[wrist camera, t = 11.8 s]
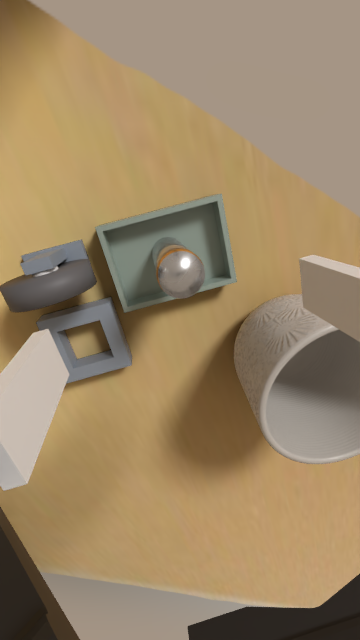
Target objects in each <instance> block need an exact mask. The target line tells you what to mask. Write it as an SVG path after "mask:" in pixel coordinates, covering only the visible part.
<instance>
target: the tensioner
mask: <svg viewBox="0 0 360 640" xmlns="http://www.w3.org/2000/svg"><path fill="white" fill-rule="evenodd" d="M21 257H22V259H23V261H24V262H23V263H21V266H22V269H23V271H24V273H25V275H22V276H20V277H17V278H15V279H12V280H10V281H8V282H6V283H4V284H2V285H1V286H0V291H1V293H2V295H3V297H4V299H5V301H6V303H7V305H8V307H9V309H10V311H11V312H25V311H31V310H35V309H39V308H43V307H47V306H50V305H53V304H56V303H59V302H62V301H64V300H67V299H70V298H72V297H74V296H77V295H79V294H81V293H83V292H85V291H87V290H88V289H90V288H91V287H93V286H94V285H95V284H96V283H97V281H96V278H95V275H94V273H93V270H92V267H91V263H90V261H89V258H88V255H87V252H86V250H85V247H84V244H83V241H82V240H78V241H74V242H70V243H67V244H63V245H59V246H55V247H52V248H48V249H44V250H40V251H37V252H33V253H29V254H25V255H22V256H21ZM98 320H100V322H101V325H102V327H103V330H104V332H105V335H106V338H107V340H108V343H109V346H110V348H111V350H109V351H105V352H102V353H98V354H94V355H91V356H87V357H84V358H80V359H77V358H76V356H75V354H74V351H73V349H72V347H71V344H70V342H69V340H68V338H67V335H66V333H65V331H64V330H65V329H69V328H73V327H76V326H80V325H84V324H87V323H91V322H94V321H98ZM36 324H37V326H38V328H39V330H40V331H42V330H45V329H49V331H50V334H51V336H52V338H53V340H54V342H55V344H56V347H57V349H58V351H59V353H60V355H61V357H62V360H63V362H64V364H65V366H66V368H67V370H68V372H69V377H68V379H67V382H66V384H67V383H70V382H74V381H77V380H81V379H84V378H88V377H91V376H95V375H99V374H102V373H106V372H109V371H113V370H116V369H120V368H123V367H127V366H130V365H132V355H131V352H130V349H129V346H128V343H127V341H126V338H125V335H124V332H123V329H122V326H121V324H120V321H119V318H118V315H117V312H116V309H115V307H114V304H113V301H112V298H111V297H108V298H104V299H101V300H97V301H93V302H90V303H86V304H82V305H79V306H75V307H71V308H68V309H64V310H61V311H57V312H53V313H50V314H46V315H42V316H41V318H40V319H39V320H38V321H37V322H36Z"/></svg>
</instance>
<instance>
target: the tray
mask: <svg viewBox="0 0 360 640" xmlns="http://www.w3.org/2000/svg"><path fill="white" fill-rule="evenodd" d="M95 228H96V231H97V234H98V237H99V240H100V243H101V246H102V249H103V252H104V255H105V258H106V261H107V264H108V266H109V269H110V272H111V275H112V278H113V281H114V284H115V287H116V290H117V293H118V296H119V299H120V302H121V304H122V307H123V310H124V313H126V312H130V311H133V310H137V309H141V308H144V307H148V306H151V305H155V304H159V303H162V302H166V301H169V300H173V299H177V298H174V297H171V296H169V295H168V294H167V293H165V292H164V291H163V290H162V289H161V287H160V285H159V283H158V281H157V276H156V269H155V265H154V261H153V258H152V249H153V246H154V245H155V243H156V242H157V241H158V240H159V239H161V238H164V237H173V238H175V239H177V240H179V241H180V242H181V243H182V244H183V245H184V246H185V247H186V248H187V249H188V250H190V251H192V252H193V253H194V254H196V255H197V256H198V257H199V258H200V260H201V261H202V263H203V266H204V270H205V279H204V283H203V285H202V287H201V288H200V290H199V291H198V292H202V291H206V290H209V289H213V288H217V287H220V286H224V285H227V284H231V283H235V282H237V280H236V274H235V268H234V262H233V256H232V251H231V245H230V239H229V233H228V228H227V222H226V216H225V210H224V204H223V199H222V194H216V195H212V196H208V197H204V198H200V199H197V200H193V201H189V202H185V203H182V204H178V205H174V206H170V207H167V208H163V209H159V210H155V211H152V212H148V213H144V214H140V215H137V216H133V217H129V218H125V219H121V220H118V221H114V222H110V223H106V224H103V225H99V226H97V227H95ZM198 292H197V293H198Z"/></svg>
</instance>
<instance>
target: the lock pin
mask: <svg viewBox="0 0 360 640" xmlns="http://www.w3.org/2000/svg"><path fill="white" fill-rule="evenodd" d="M152 258H153V261H154V265H155V269H156V276H157V281H158V283H159V285H160V287H161V289H162V290H163V291H164V292H165V293H167V294H168V295H169V296H171V297H174V298H179V299H182V298H188V297H191V296H193V295H194V294H196V293H197V292H198V291H199V290H200V288H201V287H202V285H203V283H204V279H205V270H204V266H203V263H202V261H201V260H200V258H199V257H198V256H197V255H196V254H194V253H193V252H192V251H190V250H188V249H187V248H186V247H185V246H184V245H183V244H182V243H181V242H180V241H179V240H177V239H175V238H173V237H164V238H161V239H159V240H158V241H157V242H156V243H155V245H154V246H153V249H152Z"/></svg>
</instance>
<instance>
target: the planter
mask: <svg viewBox="0 0 360 640" xmlns="http://www.w3.org/2000/svg"><path fill="white" fill-rule="evenodd" d="M234 363H235V368H236V372H237V375H238V378H239V380H240V383H241V385H242V387H243V390H244V392H245V394H246V397H247V399H248V401H249V404H250V406H251V408H252V410H253V413H254V415H255V417H256V420H257V422H258V424H259V427H260V429H261V431H262V434H263V435H264V437H265V439H266V441H267V442H268V443H269V444H270V446H271V447H272V448H273V449H274V450H275V451H277V452H278V453H279V454H281V455H283V456H284V457H286V458H289V459H291V460H294V461H297V462H301V463H306V464H327V463H333V462H338V461H342V460H345V459H348V458H351V457H354V456H356V455H358V454H360V342H359V341H357V340H356V339H354V338H352V337H351V336H349V335H347V334H346V333H344V332H343V331H341V330H339V329H338V328H336V327H334V326H333V325H331V324H329V323H328V322H326V321H324V320H323V319H321V318H320V317H318V316H316V315H315V314H313V313H311V312H310V311H308V310H306V309H305V308H303V298H302V294H292V295H284V296H280V297H277V298H274V299H271V300H269V301H267V302H265V303H263V304H262V305H260V306H259V307H257V308H256V309H255V310H253V311H252V312H251V313H250V314H249V316H248V317H247V318H246V319H245V321H244V322H243V324H242V325H241V327H240V329H239V331H238V334H237V337H236V340H235V345H234Z"/></svg>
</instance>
